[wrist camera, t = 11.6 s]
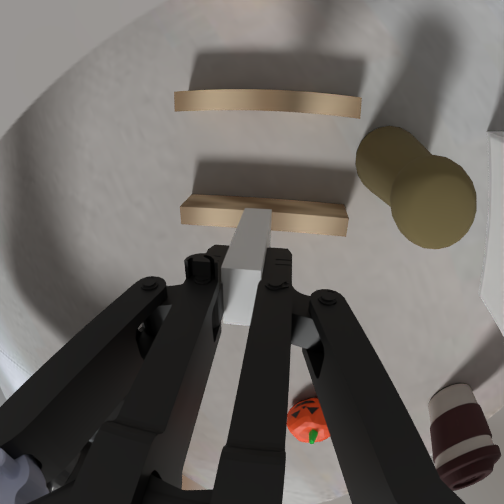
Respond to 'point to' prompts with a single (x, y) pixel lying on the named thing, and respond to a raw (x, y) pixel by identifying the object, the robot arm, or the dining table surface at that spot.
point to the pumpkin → (307, 421)
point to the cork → (417, 187)
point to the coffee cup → (460, 438)
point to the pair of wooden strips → (283, 211)
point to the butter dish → (494, 232)
